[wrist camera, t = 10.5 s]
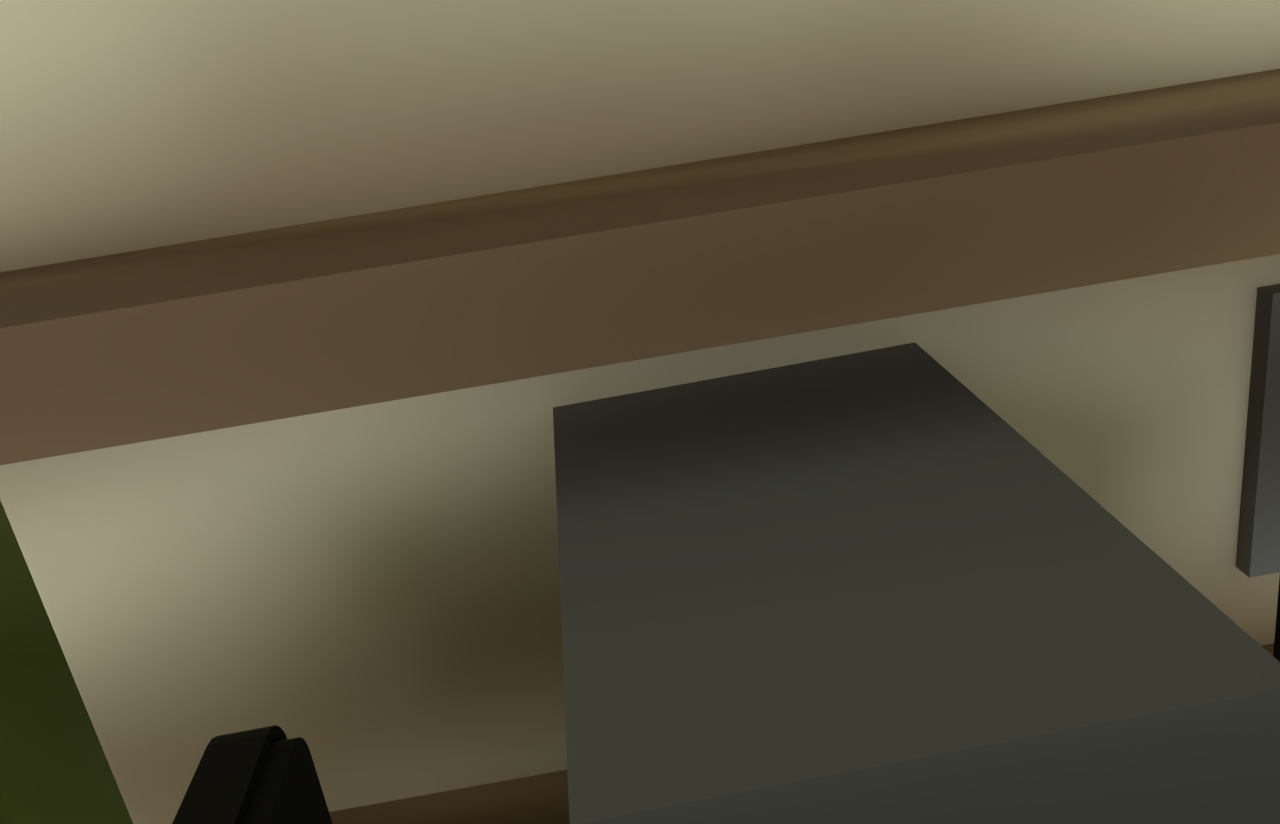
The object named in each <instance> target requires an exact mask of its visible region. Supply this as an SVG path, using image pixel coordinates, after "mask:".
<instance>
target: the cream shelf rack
mask: <svg viewBox="0 0 1280 824" xmlns="http://www.w3.org/2000/svg"><path fill="white" fill-rule="evenodd" d="M909 343H916V344H917V345H919V346H920V347H921V348H922V349H923V350H924V351H925V352H927V353H928V354H929V355H930V356H931V357H932V358H933V359H935V360H936V361H937V362H938V363H939V364H940V365H941V366H943V367H944V368H945V369H946V370H947V371H948V372H949V373H950V374H952V375H953V376H954V377H955V378H956V379H957V380H958V381H960V382H961V383H962V384H963V385H964V386H965V387H966V388H968V389H969V390H970V391H971V392H972V393H973V394H974V395H976V396H977V397H978V398H979V399H980V400H981V401H982V402H984V403H985V404H986V405H987V406H988V407H989V408H990V409H992V410H993V411H994V412H995V413H996V414H997V415H998V416H1000V417H1001V418H1002V419H1003V420H1004V421H1005V422H1006V423H1008V424H1009V425H1010V426H1011V427H1012V428H1013V429H1014V430H1016V431H1017V432H1018V433H1019V434H1020V435H1021V436H1022V437H1024V438H1025V439H1026V440H1027V441H1028V442H1029V443H1030V444H1031V445H1033V446H1034V447H1035V448H1036V449H1037V450H1038V451H1039V452H1041V453H1042V454H1043V455H1044V456H1045V457H1046V458H1047V459H1049V460H1050V461H1051V462H1052V463H1053V464H1054V465H1055V466H1057V467H1058V468H1059V469H1060V470H1061V471H1062V472H1063V473H1065V474H1066V475H1067V476H1068V477H1069V478H1070V479H1071V480H1073V481H1074V482H1075V483H1076V484H1077V485H1078V486H1079V487H1081V488H1082V489H1083V490H1084V491H1085V492H1086V493H1087V494H1089V495H1090V496H1091V497H1092V498H1093V499H1094V500H1095V501H1097V502H1098V503H1099V504H1100V505H1101V506H1102V507H1103V508H1105V509H1106V510H1107V511H1108V512H1109V513H1110V514H1111V515H1112V516H1114V517H1115V518H1116V519H1117V520H1118V521H1119V522H1120V523H1122V524H1123V525H1124V526H1125V527H1126V528H1127V529H1128V530H1130V531H1131V532H1132V533H1133V534H1134V535H1135V536H1136V537H1138V538H1139V539H1140V540H1141V541H1142V542H1143V543H1144V544H1146V545H1147V546H1148V547H1149V548H1150V549H1151V550H1152V551H1154V552H1155V553H1156V554H1157V555H1158V556H1159V557H1160V558H1162V559H1163V560H1164V561H1165V562H1166V563H1167V564H1168V565H1170V566H1171V567H1172V568H1173V569H1174V570H1175V571H1176V572H1178V573H1179V574H1180V575H1181V576H1182V577H1183V578H1184V579H1186V580H1187V581H1188V582H1189V583H1190V584H1191V585H1192V586H1193V587H1195V588H1196V589H1197V590H1198V591H1199V592H1200V593H1201V594H1203V595H1204V596H1205V597H1206V598H1207V599H1208V600H1209V601H1211V602H1212V603H1213V604H1214V605H1215V606H1216V607H1217V608H1219V609H1220V610H1221V611H1222V612H1223V613H1224V614H1225V615H1227V616H1228V617H1229V618H1230V619H1231V620H1232V621H1233V622H1235V623H1236V624H1237V625H1238V626H1239V627H1240V628H1241V629H1243V630H1244V631H1245V632H1246V633H1247V634H1248V635H1249V636H1251V637H1252V638H1253V639H1254V640H1255V641H1256V642H1257V643H1259V644H1260V645H1261V646H1262V647H1263V648H1264V649H1265V650H1267V651H1268V652H1269V653H1270V654H1271V655H1272V656H1273V651H1274V639H1275V627H1276V614H1277V602H1278V590H1279V577H1280V0H0V500H1V502H2V505H3V507H4V510H5V512H6V515H7V517H8V519H9V522H10V524H11V527H12V529H13V532H14V534H15V536H16V539H17V541H18V544H19V546H20V549H21V551H22V554H23V556H24V558H25V561H26V563H27V566H28V568H29V571H30V573H31V575H32V578H33V580H34V583H35V585H36V588H37V590H38V593H39V595H40V597H41V600H42V602H43V605H44V607H45V610H46V612H47V614H48V617H49V619H50V622H51V624H52V627H53V629H54V632H55V634H56V636H57V639H58V641H59V644H60V646H61V649H62V651H63V653H64V656H65V658H66V661H67V663H68V666H69V668H70V671H71V673H72V675H73V678H74V680H75V683H76V685H77V688H78V690H79V692H80V695H81V697H82V700H83V702H84V705H85V707H86V710H87V712H88V714H89V717H90V719H91V722H92V724H93V727H94V729H95V731H96V734H97V736H98V739H99V741H100V744H101V746H102V749H103V751H104V753H105V756H106V758H107V761H108V763H109V766H110V768H111V770H112V773H113V775H114V778H115V780H116V783H117V785H118V788H119V790H120V792H121V795H122V797H123V800H124V802H125V805H126V807H127V809H128V812H129V814H130V817H131V819H132V822H133V824H172V823H173V821H174V818H175V816H176V814H177V812H178V809H179V807H180V805H181V803H182V800H183V798H184V796H185V794H186V792H187V789H188V787H189V785H190V783H191V780H192V778H193V776H194V774H195V771H196V769H197V767H198V765H199V763H200V760H201V758H202V756H203V754H204V751H205V749H206V747H207V745H208V744H209V742H210V741H211V739H212V738H214V737H216V736H219V735H225V734H230V733H236V732H241V731H246V730H252V729H257V728H263V727H268V726H274V725H276V726H279V727H281V729H282V730H283V731H284V733H285V734H286V737H287V739H292V738H298V737H301V738H303V739H304V740H305V741H306V743H307V745H308V747H309V750H310V753H311V756H312V759H313V762H314V766H315V769H316V772H317V775H318V778H319V782H320V785H321V788H322V791H323V794H324V798H325V801H326V804H327V807H328V811H329V814H330V817H331V820H332V823H333V824H570V823H569V798H568V773H567V748H566V723H565V698H564V673H563V649H562V624H561V599H560V574H559V549H558V524H557V499H556V474H555V450H554V425H553V407H558V406H564V405H570V404H575V403H581V402H586V401H592V400H597V399H603V398H609V397H614V396H620V395H625V394H631V393H636V392H642V391H647V390H653V389H659V388H664V387H670V386H675V385H681V384H686V383H692V382H698V381H703V380H709V379H714V378H720V377H725V376H731V375H737V374H742V373H748V372H753V371H759V370H764V369H770V368H776V367H781V366H787V365H792V364H798V363H803V362H809V361H814V360H820V359H826V358H831V357H837V356H842V355H848V354H853V353H859V352H865V351H870V350H876V349H881V348H887V347H892V346H898V345H904V344H909Z"/></svg>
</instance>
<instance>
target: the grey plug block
mask: <svg viewBox="0 0 1280 824" xmlns="http://www.w3.org/2000/svg"><path fill="white" fill-rule="evenodd" d="M553 425H554V450H555V474H556V499H557V524H558V549H559V574H560V599H561V624H562V649H563V673H564V698H565V723H566V748H567V773H568V798H569V823H570V824H1280V662H1279V661H1278V660H1277V659H1276V658H1274V657H1273V656H1272V655H1271V654H1270V653H1269V652H1268V651H1267V650H1265V649H1264V648H1263V647H1262V646H1261V645H1260V644H1259V643H1257V642H1256V641H1255V640H1254V639H1253V638H1252V637H1251V636H1249V635H1248V634H1247V633H1246V632H1245V631H1244V630H1243V629H1241V628H1240V627H1239V626H1238V625H1237V624H1236V623H1235V622H1233V621H1232V620H1231V619H1230V618H1229V617H1228V616H1227V615H1225V614H1224V613H1223V612H1222V611H1221V610H1220V609H1219V608H1217V607H1216V606H1215V605H1214V604H1213V603H1212V602H1211V601H1209V600H1208V599H1207V598H1206V597H1205V596H1204V595H1203V594H1201V593H1200V592H1199V591H1198V590H1197V589H1196V588H1195V587H1193V586H1192V585H1191V584H1190V583H1189V582H1188V581H1187V580H1186V579H1184V578H1183V577H1182V576H1181V575H1180V574H1179V573H1178V572H1176V571H1175V570H1174V569H1173V568H1172V567H1171V566H1170V565H1168V564H1167V563H1166V562H1165V561H1164V560H1163V559H1162V558H1160V557H1159V556H1158V555H1157V554H1156V553H1155V552H1154V551H1152V550H1151V549H1150V548H1149V547H1148V546H1147V545H1146V544H1144V543H1143V542H1142V541H1141V540H1140V539H1139V538H1138V537H1136V536H1135V535H1134V534H1133V533H1132V532H1131V531H1130V530H1128V529H1127V528H1126V527H1125V526H1124V525H1123V524H1122V523H1120V522H1119V521H1118V520H1117V519H1116V518H1115V517H1114V516H1112V515H1111V514H1110V513H1109V512H1108V511H1107V510H1106V509H1105V508H1103V507H1102V506H1101V505H1100V504H1099V503H1098V502H1097V501H1095V500H1094V499H1093V498H1092V497H1091V496H1090V495H1089V494H1087V493H1086V492H1085V491H1084V490H1083V489H1082V488H1081V487H1079V486H1078V485H1077V484H1076V483H1075V482H1074V481H1073V480H1071V479H1070V478H1069V477H1068V476H1067V475H1066V474H1065V473H1063V472H1062V471H1061V470H1060V469H1059V468H1058V467H1057V466H1055V465H1054V464H1053V463H1052V462H1051V461H1050V460H1049V459H1047V458H1046V457H1045V456H1044V455H1043V454H1042V453H1041V452H1039V451H1038V450H1037V449H1036V448H1035V447H1034V446H1033V445H1031V444H1030V443H1029V442H1028V441H1027V440H1026V439H1025V438H1024V437H1022V436H1021V435H1020V434H1019V433H1018V432H1017V431H1016V430H1014V429H1013V428H1012V427H1011V426H1010V425H1009V424H1008V423H1006V422H1005V421H1004V420H1003V419H1002V418H1001V417H1000V416H998V415H997V414H996V413H995V412H994V411H993V410H992V409H990V408H989V407H988V406H987V405H986V404H985V403H984V402H982V401H981V400H980V399H979V398H978V397H977V396H976V395H974V394H973V393H972V392H971V391H970V390H969V389H968V388H966V387H965V386H964V385H963V384H962V383H961V382H960V381H958V380H957V379H956V378H955V377H954V376H953V375H952V374H950V373H949V372H948V371H947V370H946V369H945V368H944V367H943V366H941V365H940V364H939V363H938V362H937V361H936V360H935V359H933V358H932V357H931V356H930V355H929V354H928V353H927V352H925V351H924V350H923V349H922V348H921V347H920V346H919V345H917V344H916V343H909V344H904V345H898V346H892V347H887V348H881V349H876V350H870V351H865V352H859V353H853V354H848V355H842V356H837V357H831V358H826V359H820V360H814V361H809V362H803V363H798V364H792V365H787V366H781V367H776V368H770V369H764V370H759V371H753V372H748V373H742V374H737V375H731V376H725V377H720V378H714V379H709V380H703V381H698V382H692V383H686V384H681V385H675V386H670V387H664V388H659V389H653V390H647V391H642V392H636V393H631V394H625V395H620V396H614V397H609V398H603V399H597V400H592V401H586V402H581V403H575V404H570V405H564V406H558V407H553Z"/></svg>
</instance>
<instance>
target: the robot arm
mask: <svg viewBox="0 0 1280 824" xmlns="http://www.w3.org/2000/svg"><path fill="white" fill-rule="evenodd" d="M1273 657H1274V658H1276V659H1277V660H1278V661H1279V662H1280V577H1279V590H1278V602H1277V614H1276V627H1275V639H1274V651H1273ZM172 824H333V823H332V820H331V817H330V814H329V811H328V807H327V804H326V801H325V798H324V794H323V791H322V788H321V785H320V782H319V778H318V775H317V772H316V769H315V766H314V762H313V759H312V756H311V753H310V750H309V747H308V745H307V743H306V741H305V740H304V739H303V738H301V737H298V738H292V739H287V737H286V734H285V733H284V731H283V730H282V729H281V727H279V726H276V725H274V726H268V727H263V728H257V729H252V730H246V731H241V732H236V733H230V734H225V735H219V736H216V737H214V738H212V739H211V741H210V742H209V744H208V745H207V747H206V749H205V751H204V754H203V756H202V758H201V760H200V763H199V765H198V767H197V769H196V771H195V774H194V776H193V778H192V780H191V783H190V785H189V787H188V789H187V792H186V794H185V796H184V798H183V800H182V803H181V805H180V807H179V809H178V812H177V814H176V816H175V818H174V821H173V823H172Z"/></svg>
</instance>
